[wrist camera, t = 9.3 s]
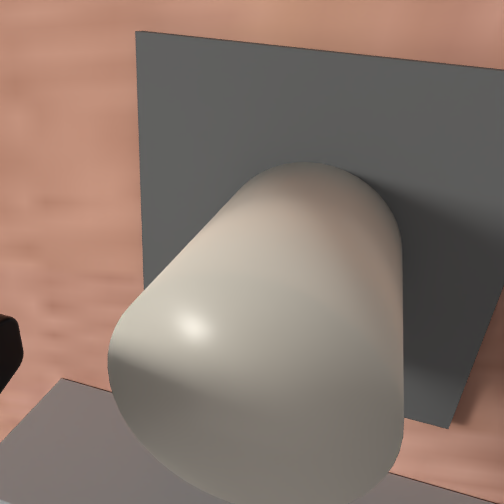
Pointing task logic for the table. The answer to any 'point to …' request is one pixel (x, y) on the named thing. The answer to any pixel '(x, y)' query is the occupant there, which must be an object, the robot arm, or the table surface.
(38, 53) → the table surface
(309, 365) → the cream rounded cone
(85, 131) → the table surface
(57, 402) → the wall
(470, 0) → the table surface
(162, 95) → the mat
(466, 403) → the table surface
